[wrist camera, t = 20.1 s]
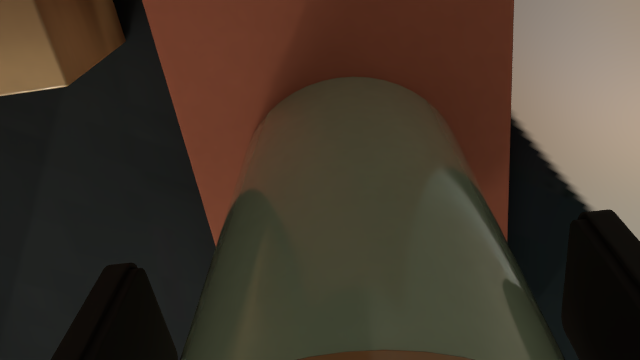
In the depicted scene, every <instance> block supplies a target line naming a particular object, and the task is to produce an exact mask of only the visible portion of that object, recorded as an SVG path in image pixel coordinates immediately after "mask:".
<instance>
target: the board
mask: <svg viewBox="0 0 640 360" xmlns="http://www.w3.org/2000/svg"><path fill="white" fill-rule="evenodd" d="M142 1H143V5H144V8H145V11H146V15H147V18H148V21H149V25H150V28H151V31H152V35H153V38H154V41H155V45H156V48H157V52H158V55H159V58H160V62H161V65H162V68H163V72H164V75H165V78H166V82H167V85H168V88H169V92H170V95H171V98H172V102H173V105H174V108H175V112H176V115H177V118H178V122H179V125H180V128H181V132H182V135H183V138H184V142H185V145H186V148H187V152H188V155H189V158H190V162H191V165H192V168H193V172H194V175H195V178H196V182H197V185H198V188H199V192H200V195H201V198H202V202H203V205H204V208H205V212H206V215H207V218H208V222H209V225H210V228H211V232H212V235H213V238H214V242H215V245H217V242H218V239H219V236H220V232H221V229H222V226H223V223H224V220H225V217H226V213H227V210H228V207H229V204H230V201H231V198H232V195H233V191H234V188H235V185H236V182H237V179H238V176H239V172H240V169H241V166H242V163H243V160H244V157H245V153H246V150H247V147H248V144H249V142H250V140H251V138H252V135H253V133H254V132H255V130H256V128H257V127H258V125H259V124H260V122H261V121H262V120H263V119H264V117H265V116H266V115H267V114H268V113H269V112H270V110H272V109H273V108H274V107H275V106H276V105H277V104H278V103H280V102H281V101H282V100H284V99H285V98H287V97H288V96H290V95H291V94H293V93H294V92H296V91H298V90H300V89H302V88H304V87H306V86H309V85H312V84H315V83H318V82H321V81H325V80H329V79H334V78H342V77H369V78H375V79H380V80H385V81H388V82H392V83H395V84H398V85H401V86H403V87H405V88H407V89H409V90H411V91H413V92H415V93H416V94H418V95H419V96H421V97H422V98H424V99H425V100H427V101H428V102H429V103H430V104H431V105H432V106H433V107H435V108H436V109H437V110H438V112H439V113H440V114H441V115H442V116H443V117H444V119H445V120H446V121H447V123H448V125H449V126H450V128H451V129H452V131H453V133H454V135H455V137H456V139H457V141H458V143H459V145H460V147H461V149H462V151H463V153H464V155H465V157H466V159H467V161H468V163H469V165H470V167H471V170H472V172H473V174H474V176H475V178H476V180H477V182H478V184H479V186H480V188H481V190H482V192H483V194H484V196H485V198H486V200H487V202H488V204H489V206H490V208H491V210H492V212H493V214H494V216H495V218H496V220H497V222H498V224H499V226H500V228H501V230H502V233H503V235H504V237H505V239H506V241H507V232H508V196H509V160H510V125H511V89H512V88H511V87H512V52H513V51H512V50H513V17H514V0H142Z"/></svg>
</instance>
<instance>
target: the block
mask: <svg viewBox="0 0 640 360" xmlns="http://www.w3.org/2000/svg"><path fill="white" fill-rule="evenodd" d="M125 41H126V40H125V37H124V34H123V31H122V28H121V24H120V21H119V18H118V15H117V12H116V9H115V6H114V3H113V0H0V96H5V95H12V94H19V93H26V92H33V91H40V90H47V89H54V88H61V87H67V86H69V85H70V84H71V83H72V82H74V81H75V80H76V79H78V78H79V77H80V76H82V75H83V74H84V73H85V72H87V71H88V70H89V69H91V68H92V67H93V66H95V65H96V64H97V63H98V62H100V61H101V60H102V59H104V58H105V57H106V56H108V55H109V54H110V53H111V52H113V51H114V50H115V49H117V48H118V47H119V46H121V45H122V44H123V43H124V42H125Z"/></svg>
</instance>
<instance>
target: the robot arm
mask: <svg viewBox="0 0 640 360" xmlns="http://www.w3.org/2000/svg"><path fill="white" fill-rule="evenodd" d="M561 318H562V324H563V328H564V331H565V333H566V335H567V337H568V339H569V341H570V342H571V344H572V346H573V348H574V350H575V352H576V354H577V356H578V358H579V360H640V241H639V240H638V239H637V238H636V237H635V236H634V234H633V233H632V232H631V231H630V230H629V229H628V228H627V226H626V225H625V224H624V223H623V222H622V221H621V219H620V218H619V217H618V216H617V215H616V214H615V212H613V211H612V210H600V211H591V212H583V213H581V214H580V215H579V218H578V220H573V221H572V222H571V224H570V232H569V242H568V252H567V262H566V273H565V283H564V293H563V303H562V313H561ZM51 360H178V356H177V351H176V348H175V346H174V343H173V341H172V338H171V336H170V333H169V331H168V328H167V325H166V323H165V320H164V318H163V315H162V313H161V310H160V308H159V305H158V303H157V300H156V297H155V295H154V292H153V290H152V287H151V285H150V282H149V280H148V277H147V274H146V272H145V270H144V269H143V268H137V266H136V265H135V264H134V263H124V264H115V265H108V266H106V267H105V268H104V270H103V271H102V273H101V275H100V276H99V278H98V280H97V282H96V283H95V285H94V287H93V288H92V290H91V292H90V293H89V295H88V297H87V299H86V300H85V302H84V304H83V305H82V307H81V309H80V311H79V312H78V314H77V316H76V317H75V319H74V321H73V323H72V324H71V326H70V328H69V329H68V331H67V333H66V335H65V336H64V338H63V340H62V341H61V343H60V345H59V347H58V348H57V350H56V352H55V353H54V355H53V357H52V359H51Z"/></svg>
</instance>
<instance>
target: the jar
mask: <svg viewBox="0 0 640 360" xmlns="http://www.w3.org/2000/svg"><path fill="white" fill-rule="evenodd" d="M180 360H565V359H564V357H563V354H562V352H561V350H560V348H559V346H558V344H557V342H556V340H555V338H554V336H553V334H552V332H551V330H550V328H549V326H548V324H547V322H546V320H545V318H544V316H543V314H542V312H541V310H540V308H539V306H538V304H537V302H536V300H535V298H534V296H533V294H532V291H531V289H530V287H529V285H528V283H527V281H526V279H525V277H524V275H523V273H522V271H521V269H520V267H519V265H518V263H517V261H516V259H515V257H514V255H513V253H512V251H511V249H510V247H509V245H508V243H507V241H506V239H505V237H504V235H503V233H502V230H501V228H500V226H499V224H498V222H497V220H496V218H495V216H494V214H493V212H492V210H491V208H490V206H489V204H488V202H487V200H486V198H485V196H484V194H483V192H482V190H481V188H480V186H479V184H478V182H477V180H476V178H475V176H474V174H473V172H472V170H471V167H470V165H469V163H468V161H467V159H466V157H465V155H464V153H463V151H462V149H461V147H460V145H459V143H458V141H457V139H456V137H455V135H454V133H453V131H452V129H451V128H450V126H449V125H448V123H447V121H446V120H445V119H444V117H443V116H442V115H441V114H440V113H439V112H438V110H437V109H436V108H435V107H433V106H432V105H431V104H430V103H429V102H428V101H427V100H425V99H424V98H422V97H421V96H419V95H418V94H416V93H415V92H413V91H411V90H409V89H407V88H405V87H403V86H401V85H398V84H395V83H392V82H388V81H385V80H380V79H375V78H369V77H342V78H334V79H329V80H325V81H321V82H318V83H315V84H312V85H309V86H306V87H304V88H302V89H300V90H298V91H296V92H294V93H293V94H291V95H290V96H288V97H287V98H285V99H284V100H282V101H281V102H280V103H278V104H277V105H276V106H275V107H274V108H273V109H272V110H270V112H269V113H268V114H267V115H266V116H265V117H264V119H263V120H262V121H261V122H260V124H259V125H258V127H257V128H256V130H255V132H254V133H253V135H252V138H251V140H250V142H249V144H248V147H247V150H246V153H245V157H244V160H243V163H242V166H241V169H240V172H239V176H238V179H237V182H236V185H235V188H234V191H233V195H232V198H231V201H230V204H229V207H228V210H227V213H226V217H225V220H224V223H223V226H222V229H221V232H220V236H219V239H218V242H217V245H216V248H215V251H214V255H213V258H212V261H211V264H210V267H209V270H208V274H207V277H206V280H205V283H204V286H203V289H202V292H201V296H200V299H199V302H198V305H197V308H196V311H195V315H194V318H193V321H192V324H191V327H190V330H189V334H188V337H187V340H186V343H185V346H184V349H183V352H182V356H181V359H180Z"/></svg>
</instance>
